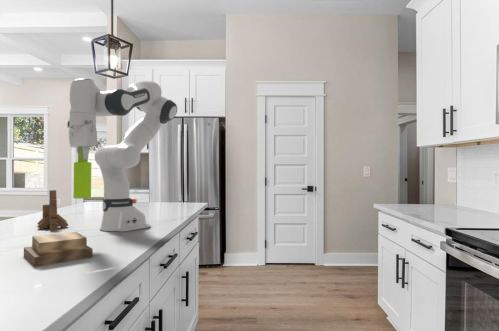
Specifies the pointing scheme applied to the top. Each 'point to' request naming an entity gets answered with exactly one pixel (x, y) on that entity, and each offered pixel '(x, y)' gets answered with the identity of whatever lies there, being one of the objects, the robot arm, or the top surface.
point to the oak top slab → (58, 243)
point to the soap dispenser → (82, 177)
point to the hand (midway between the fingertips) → (83, 159)
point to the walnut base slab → (55, 256)
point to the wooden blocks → (51, 214)
